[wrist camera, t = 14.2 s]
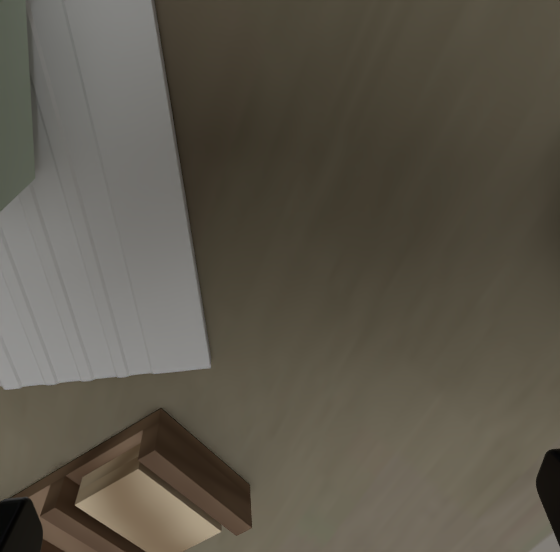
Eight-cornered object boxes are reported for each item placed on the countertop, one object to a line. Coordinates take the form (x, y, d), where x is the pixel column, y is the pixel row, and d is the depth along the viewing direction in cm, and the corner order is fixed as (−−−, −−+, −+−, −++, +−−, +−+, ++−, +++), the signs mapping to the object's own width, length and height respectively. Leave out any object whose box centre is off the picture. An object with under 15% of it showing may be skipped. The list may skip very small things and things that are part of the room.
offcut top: (140, 454, 24) (138, 468, 23) (221, 517, 27) (221, 531, 26) (78, 490, 25) (74, 505, 24) (163, 547, 28) (162, 562, 27)
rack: (161, 408, 25) (154, 450, 23) (249, 485, 28) (251, 528, 26) (-7, 508, 27) (-28, 555, 25) (94, 567, 31) (83, 613, 29)
